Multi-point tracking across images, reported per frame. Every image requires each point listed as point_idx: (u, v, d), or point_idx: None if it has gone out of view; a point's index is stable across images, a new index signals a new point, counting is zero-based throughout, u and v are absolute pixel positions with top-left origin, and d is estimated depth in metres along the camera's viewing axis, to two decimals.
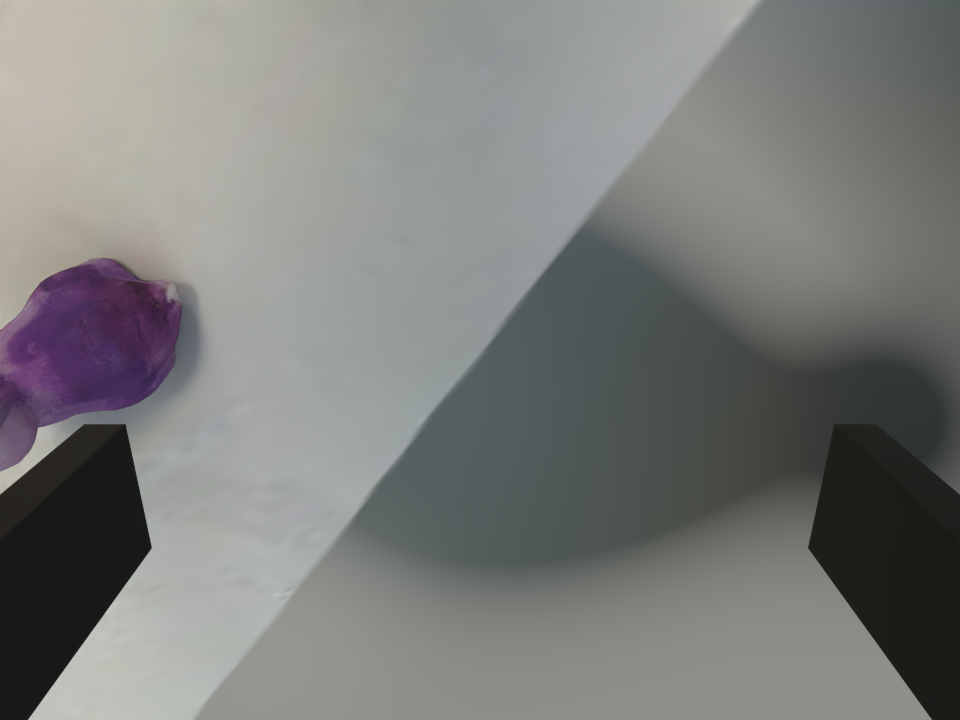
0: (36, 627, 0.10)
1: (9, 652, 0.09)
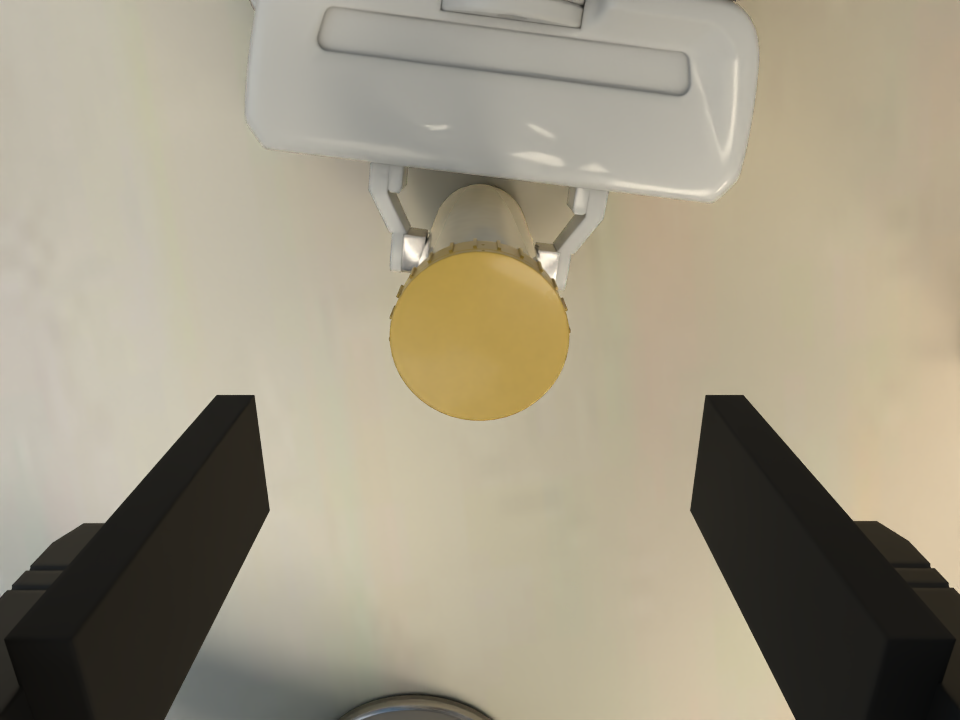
0: (203, 569, 0.11)
1: (189, 588, 0.10)
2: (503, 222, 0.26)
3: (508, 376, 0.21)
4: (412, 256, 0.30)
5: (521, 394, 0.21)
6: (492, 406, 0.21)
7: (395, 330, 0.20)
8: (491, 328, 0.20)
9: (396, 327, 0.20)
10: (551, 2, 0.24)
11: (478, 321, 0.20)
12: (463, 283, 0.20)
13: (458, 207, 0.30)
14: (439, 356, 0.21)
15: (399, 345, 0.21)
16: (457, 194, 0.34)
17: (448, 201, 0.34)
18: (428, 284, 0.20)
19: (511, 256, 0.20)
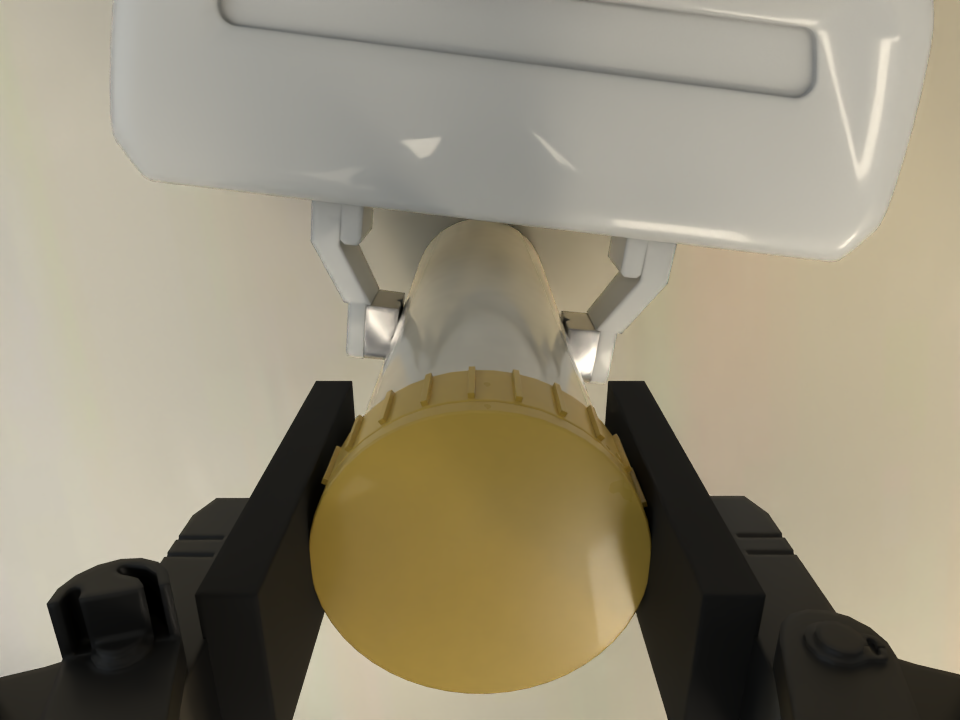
0: None
1: None
2: (518, 300, 0.16)
3: (534, 624, 0.11)
4: (379, 337, 0.20)
5: (558, 653, 0.11)
6: (504, 672, 0.12)
7: (319, 549, 0.11)
8: (503, 546, 0.11)
9: (320, 544, 0.11)
10: None
11: (478, 534, 0.11)
12: (448, 468, 0.10)
13: (448, 264, 0.20)
14: (404, 592, 0.11)
15: (327, 574, 0.11)
16: (448, 235, 0.24)
17: (436, 245, 0.24)
18: (379, 470, 0.10)
19: (543, 418, 0.10)
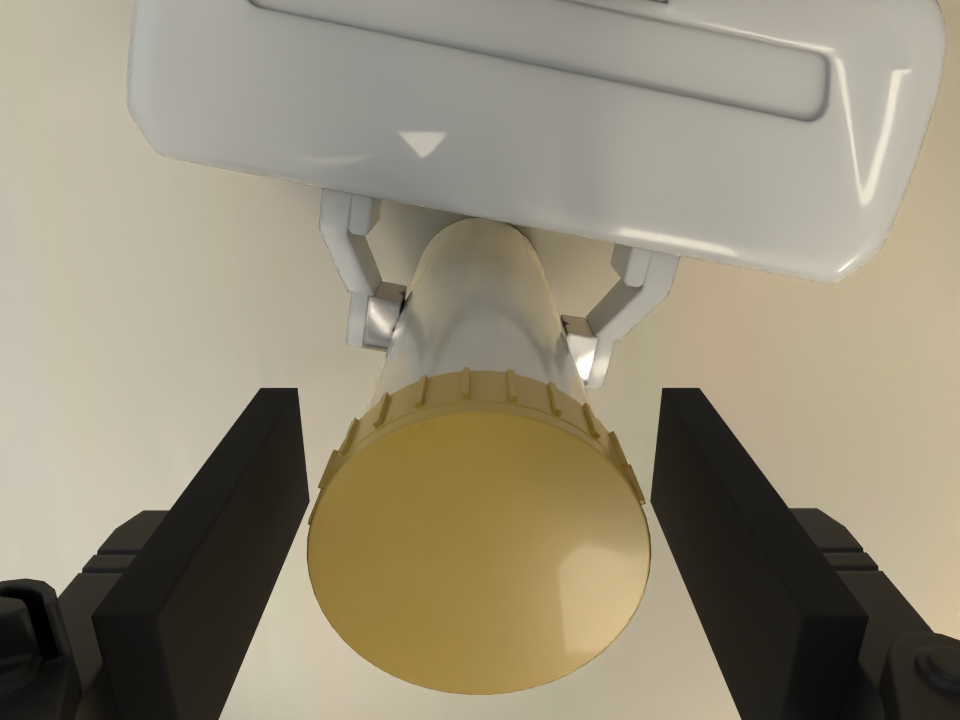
0: (257, 555, 0.11)
1: (246, 574, 0.11)
2: (523, 300, 0.17)
3: (566, 535, 0.10)
4: (380, 328, 0.20)
5: (612, 520, 0.10)
6: (620, 573, 0.11)
7: (426, 680, 0.12)
8: (460, 543, 0.11)
9: (421, 678, 0.12)
10: None
11: (441, 561, 0.11)
12: (363, 569, 0.11)
13: (453, 260, 0.20)
14: (492, 631, 0.11)
15: (455, 681, 0.12)
16: (452, 232, 0.24)
17: (439, 241, 0.24)
18: (354, 619, 0.11)
19: (329, 481, 0.10)
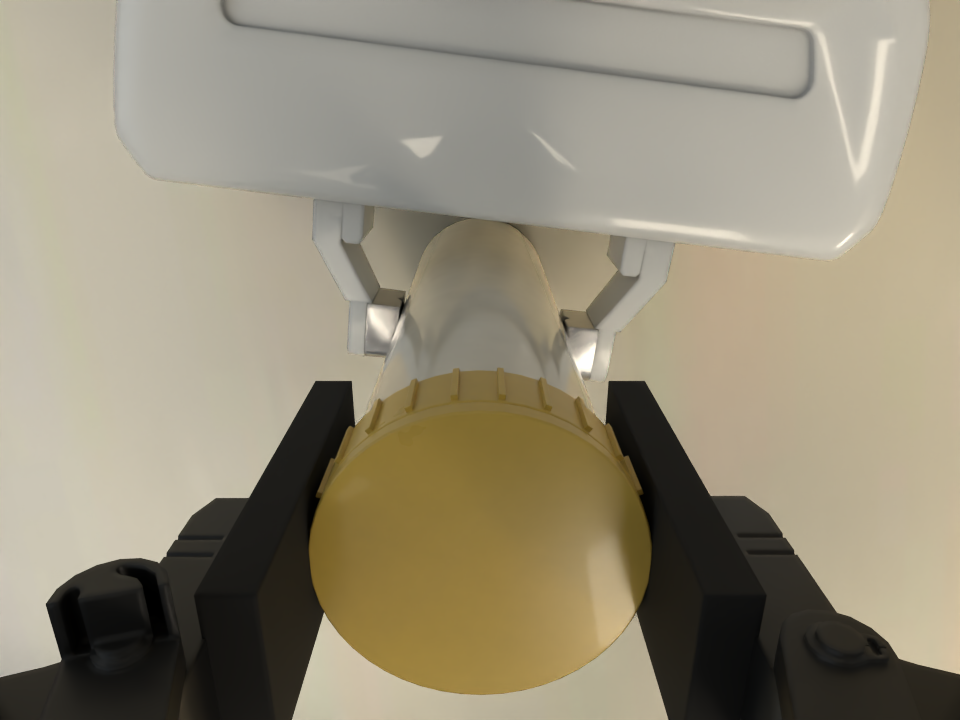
0: None
1: None
2: (518, 298, 0.16)
3: (565, 530, 0.10)
4: (380, 335, 0.20)
5: (610, 513, 0.10)
6: (622, 565, 0.11)
7: (437, 683, 0.12)
8: (459, 544, 0.11)
9: (432, 681, 0.12)
10: None
11: (442, 563, 0.11)
12: (365, 575, 0.11)
13: (448, 262, 0.20)
14: (499, 630, 0.11)
15: (465, 682, 0.12)
16: (449, 234, 0.24)
17: (436, 244, 0.24)
18: (360, 625, 0.11)
19: (325, 490, 0.10)
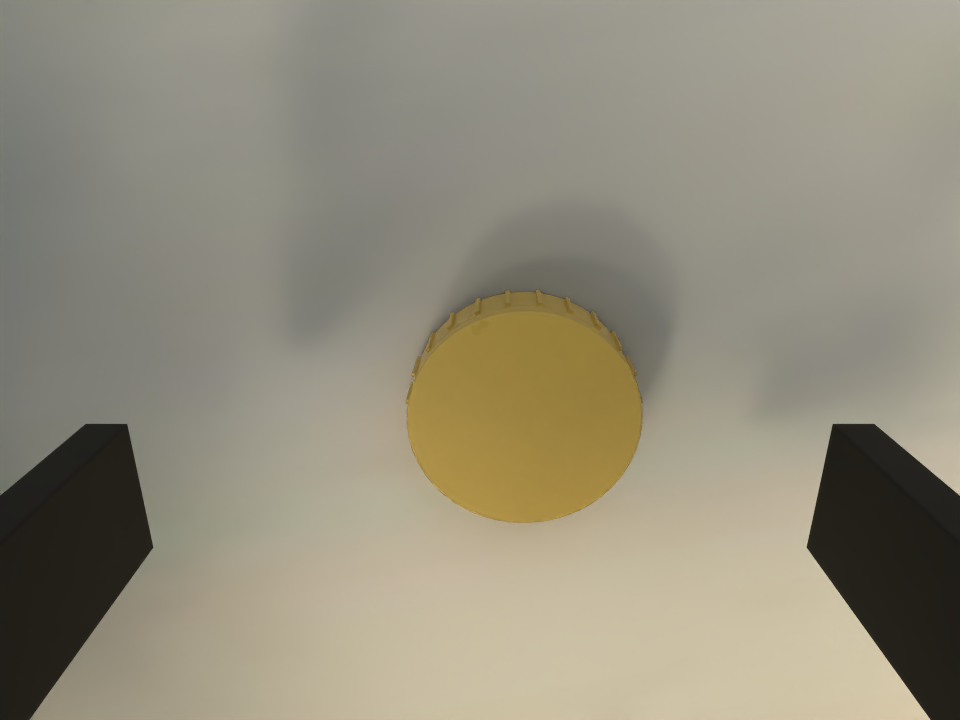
0: (38, 626, 0.10)
1: (12, 651, 0.09)
2: None
3: (582, 397, 0.15)
4: None
5: (613, 384, 0.15)
6: (621, 423, 0.16)
7: (492, 513, 0.17)
8: (510, 407, 0.16)
9: (488, 511, 0.17)
10: None
11: (498, 420, 0.16)
12: (445, 429, 0.16)
13: None
14: (536, 472, 0.16)
15: (512, 512, 0.17)
16: None
17: None
18: (440, 467, 0.16)
19: (420, 367, 0.15)
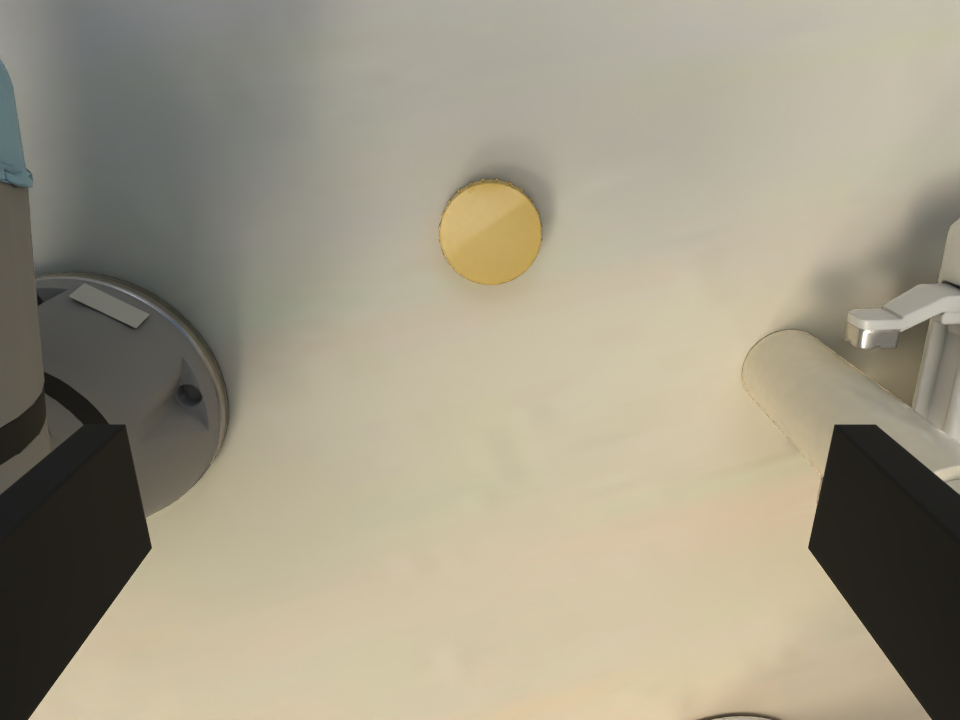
0: (36, 627, 0.10)
1: (10, 652, 0.09)
2: None
3: (515, 222, 0.36)
4: (878, 339, 0.32)
5: (528, 216, 0.36)
6: (532, 234, 0.36)
7: (477, 280, 0.37)
8: (484, 227, 0.36)
9: (475, 279, 0.37)
10: None
11: (479, 234, 0.36)
12: (456, 238, 0.36)
13: None
14: (496, 259, 0.37)
15: (486, 279, 0.37)
16: None
17: None
18: (454, 257, 0.37)
19: (445, 209, 0.36)
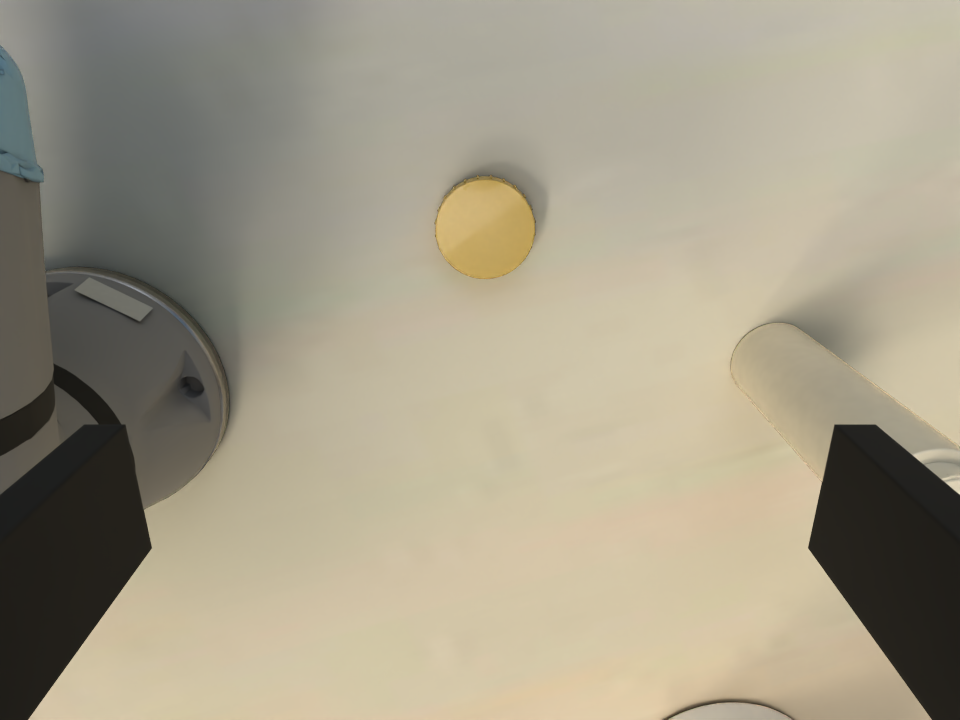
0: (36, 627, 0.10)
1: (10, 652, 0.09)
2: None
3: (509, 217, 0.37)
4: None
5: (521, 212, 0.37)
6: (526, 229, 0.37)
7: (472, 274, 0.38)
8: (479, 222, 0.37)
9: (470, 273, 0.38)
10: None
11: (474, 229, 0.37)
12: (451, 233, 0.37)
13: None
14: (490, 253, 0.38)
15: (480, 273, 0.38)
16: None
17: None
18: (449, 252, 0.38)
19: (441, 205, 0.37)
